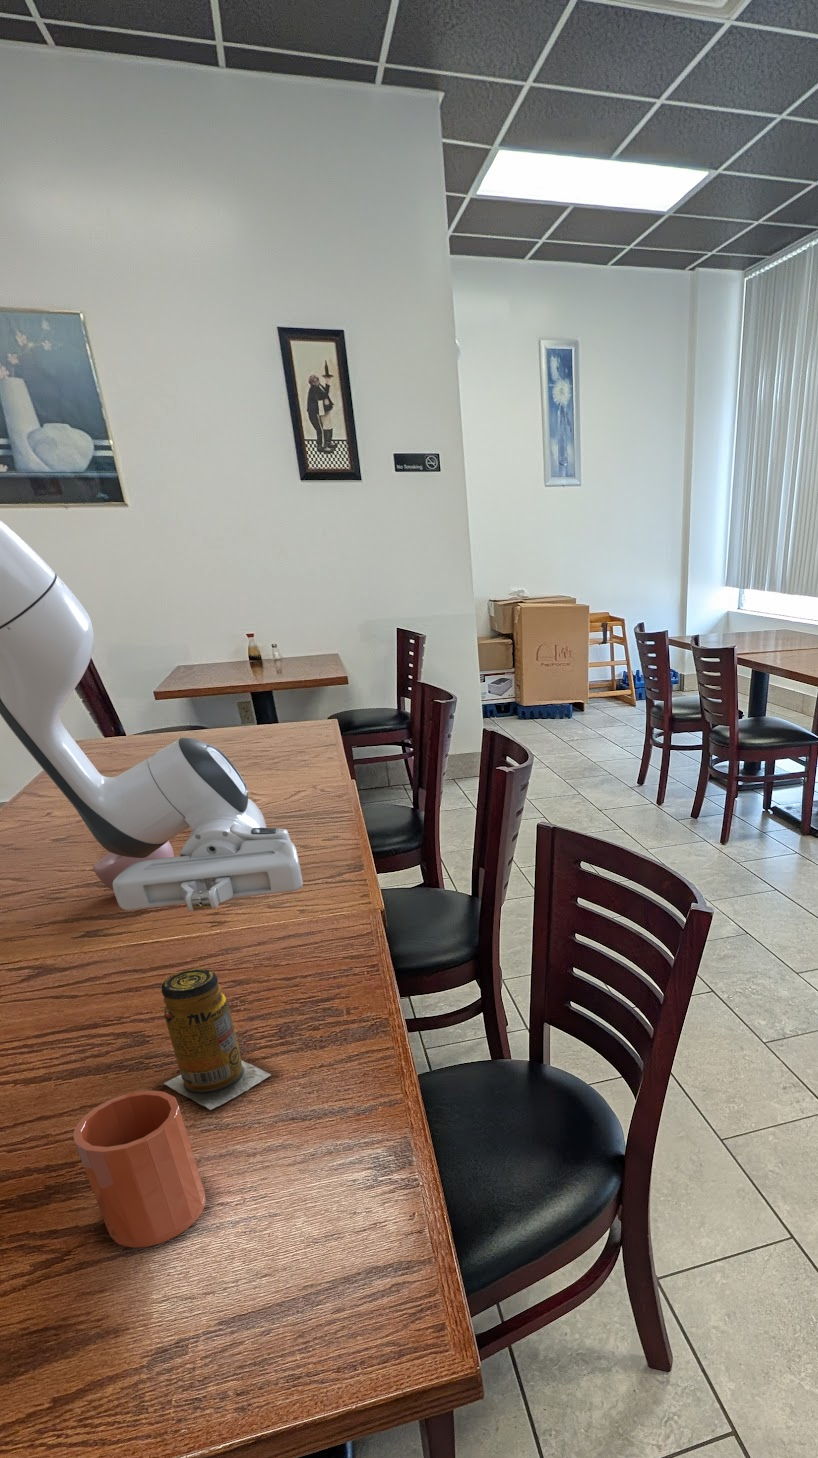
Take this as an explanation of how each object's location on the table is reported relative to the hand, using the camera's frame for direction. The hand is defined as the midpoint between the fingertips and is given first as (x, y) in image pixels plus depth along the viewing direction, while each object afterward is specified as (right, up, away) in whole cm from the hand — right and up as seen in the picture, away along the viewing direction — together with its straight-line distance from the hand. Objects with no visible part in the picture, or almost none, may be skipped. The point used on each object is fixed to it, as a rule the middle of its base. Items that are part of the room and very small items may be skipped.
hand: (200, 903), depth 89 cm
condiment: (+3, -19, -2) cm, 19 cm away
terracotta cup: (+5, -27, -19) cm, 33 cm away
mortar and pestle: (-31, +4, +47) cm, 57 cm away
